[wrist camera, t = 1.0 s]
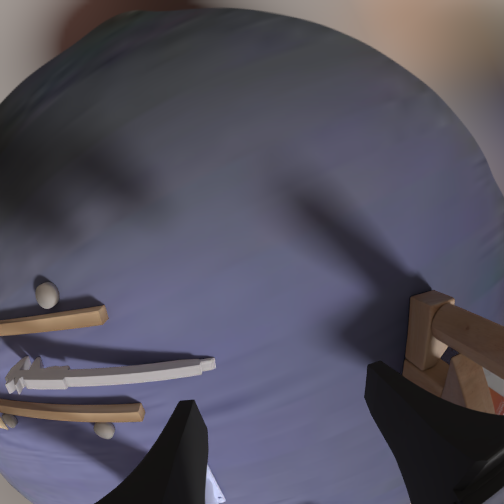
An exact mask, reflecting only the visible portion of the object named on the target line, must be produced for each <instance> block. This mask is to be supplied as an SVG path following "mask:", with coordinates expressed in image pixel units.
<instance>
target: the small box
mask: <svg viewBox="0 0 504 504" xmlns="http://www.w3.org/2000/svg"><path fill="white" fill-rule="evenodd" d="M483 370H484V373H485V377H486V380H487V383H488V387H489V390H490V394H491V398H492V402H493V406H494V410H495V414H497V415H504V380H503V379H501V378H500V377H498V376H497V375H495V374H493V373H492V372H490V371H489V370H487V369H485V368H484V367H483Z"/></svg>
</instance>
